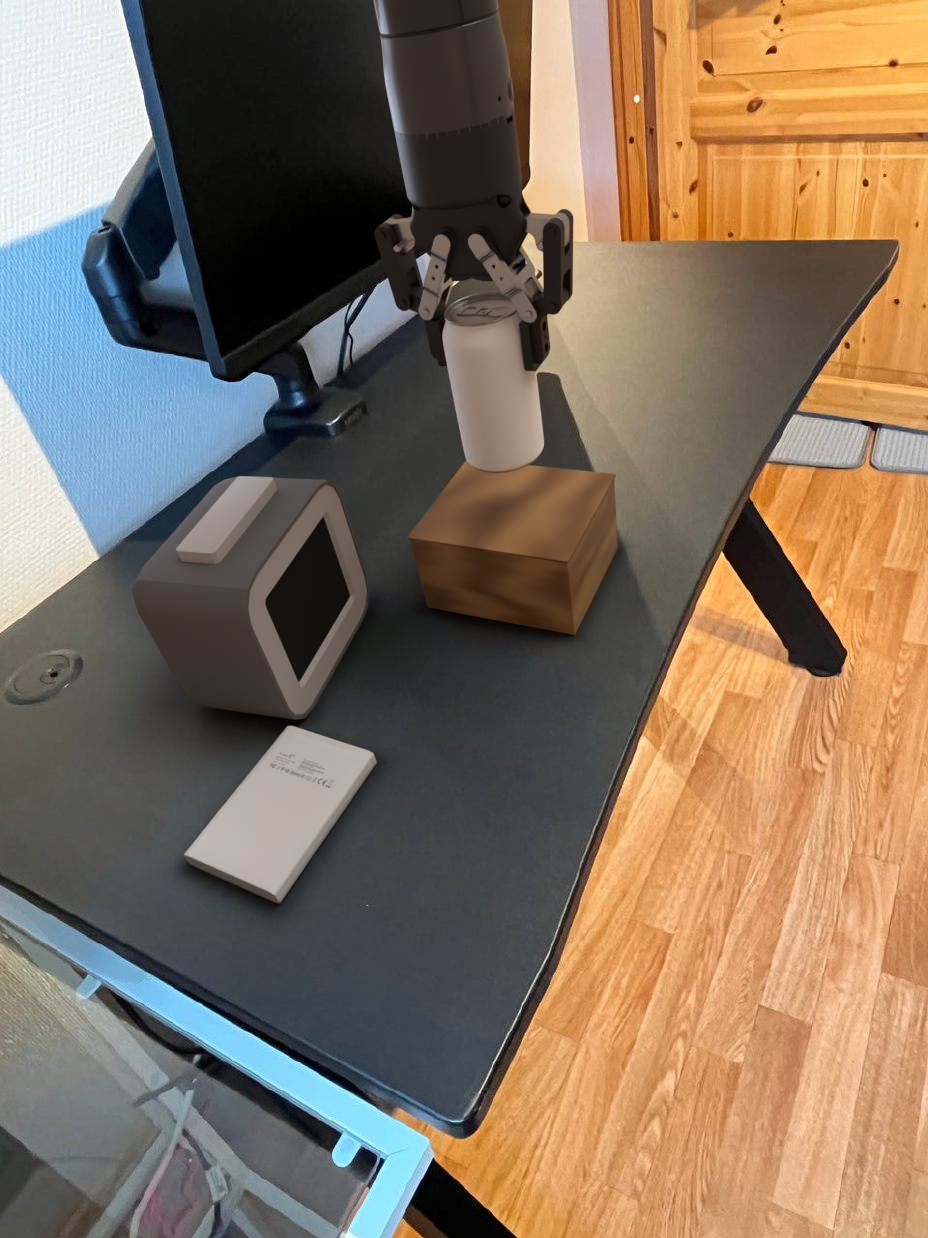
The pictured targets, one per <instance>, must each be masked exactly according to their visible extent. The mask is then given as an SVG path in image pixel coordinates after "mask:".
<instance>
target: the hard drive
mask: <svg viewBox="0 0 928 1238" xmlns="http://www.w3.org/2000/svg"><path fill="white" fill-rule="evenodd" d="M377 764H378V762H377V759H376V756H375V754H374V752H372V751H370V750H369V749H365V748H362V747H359V746H356V745H352V744H350V743H347V742H346V743H345V742H343V741H340V740H338V739H333V738H331V737H329V736H325V735H321V734H319V733H315V732H312V731H309V730H306V729H304V728H300V727H297V726H295V725H287V726H286V727H285V728H284V729H283V731H282V732H281V733H280V735H279V736H278V737H277V738H276V739H275V741H274V742H273V744H271V746H270V747H269V748H268V749H267V751H266V752H264V754H263V756H262V757H261V758H260V759H259V760H258V761H257V763H256V764H255V765H254V766H253V768H252V769H251V770H250V772H249V773H248V774H247V775H246V777H245V778H244V779H243V780H242V781H241V783H240V784H239V786H237V788H236V789H235V790H234V791H233V792H232V794H231V795H230V796H229V797H228V799H227V800H226V801H225V803H223V805H222V806H221V808H220V809H218V811H217V812H216V814H215V815H214V816H213V817H212V818H211V820H210V821H209V823H207V825H206V826H205V828H203V830H202V831H201V832H200V834H199V835H198V836H197V837H196V839H195V840H194V841H193V842H192V843H191V845H190V846H189V848H188V849H187V850H186V851H185V852H184V854H183V857H184V858H185V860H186V861H187V862H188V863H189V865H191V866H193V867H195V868H196V869H198V870H201V871H202V872H205V873H207V874H210V875H212V876H214V877H216V878H218V879H221V880H223V881H225V882H228V883H230V884H232V885H234V886H237V887H238V888H241V889H244V890H245V891H248V892H250V893H252V894H255V895H257V896H259V897H261V898H264V899H265V900H267V901H271V903H272V902H273V903H275V904H281V903H282V902H283V900H284V898H285V897H286V896H287V894H288V893H289V892H290V890H291V888H292V887H293V885H295V883H296V881H297V880H298V878H299V877H300V876H301V875H302V873H303V871H304V870H305V868H306V866H307V865H308V864H309V862H310V861H311V860H312V859H313V856H314V855H315V854H316V852H317V851H318V850H319V848H320V847H321V845H322V843H323V842H324V841H325V839H326V838H327V836H328V835H329V834H330V832H331V831H332V829H333V827H334V826H335V824H337V822H338V820H339V819H340V818H341V816H342V815H343V813H344V811H345V810H346V809H347V807H348V805H349V804H350V803H351V802H352V800H353V799H354V797H355V795H356V794H357V792H358V791H359V789H360V788H361V787H362V786H363V783H364V782H365V781H366V780H367V778H368V777H369V775H370V774H371V772H372V771H373V769H374V768H375V766H376V765H377Z"/></svg>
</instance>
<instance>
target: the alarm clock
mask: <svg viewBox="0 0 928 1238" xmlns="http://www.w3.org/2000/svg"><path fill="white" fill-rule="evenodd" d="M349 515H350V514H349V513H348V509H347V506H346V502H345V500H344V496H343V494H342V492H341V490H340V488H339V486H338V484H337V483H336V482H334V481H331V480H328V479H317V478H291V477H290V478H287V477H284V478H283V477H272V476H252V475H251V476H245V475H239V476H233V477H229V478H225V479H223V480H221V481H220V482H218V483H216V484H214V485H213V487H212V488H211V489H210V490H209V491H208V492H207V493H206V494H205V495H204V497H203V498H202V499H201V500H200V501H199V502H198V504H197V505H196V506H194V508H193V509H192V511H190V512H189V513H188V515H187V516H186V517H185V518H184V520H183V521H182V522H181V523H180V524H179V525H178V526H177V527H176V528H175V530H173V532H172V533H171V534H170V535H169V536H168V537H167V538H166V540H165V541H164V542H163V543H162V545H160V547H159V548H158V549H157V550H156V551H155V552H154V553H153V555H151V557H150V558H149V559H148V560H147V561H146V563H145V564H144V565H143V566H142V568H141V569H140V572H139V573H138V575H137V577H136V579H135V581H134V583H133V584H132V585H133V586H132V588H131V592H132V595H133V597H132V598H133V600H134V604H135V607H136V610H137V614H138V615H139V617H140V619H141V621H142V623H143V624H144V626H145V628H146V630H147V631H148V633H149V635H150V636H151V638H152V640H153V641H154V643H155V646H156V647H157V648H158V650H159V652H160V654H161V656H162V657H163V660H164V661H165V662H166V664H167V666H168V668H169V669H170V672H171V673H172V676H173V677H174V679H175V680H176V682H177V683H178V686H179V687H180V689H181V691H182V692H183V694H184V695H185V696H187V697H188V698H189V699H190V700H191V702H193V703H195V704H198V705H201V706H203V707H205V708H210V709H211V708H213V709H218V710H225V711H226V710H227V711H231V712H232V711H233V712H239V713H245V714H254V715H260V716H268V717H274V718H281V719H287V720H293V721H294V720H296V721H297V720H302V719H306V718H307V717H308V716H309V714H311V712H312V711H313V710H314V709H315V706H316V705H317V704H318V702H319V700H320V698H321V697H322V695H323V693H324V692H325V689H326V687H327V685H328V684H329V682H330V680H331V679H332V677H333V675H334V673H335V672H336V670H337V668H338V666H339V664H340V662H341V661H342V659H343V657H344V655H345V654H346V652H347V650H348V648H349V646H350V644H351V643H352V641H353V640H354V637H355V636H356V634H357V632H358V630H359V629H360V627H361V626H362V623H363V622H364V619H365V617H366V614H367V611H368V608H369V602H370V601H369V600H370V591H371V590H370V583H369V577H368V572H367V570H366V569H367V568H366V567H365V563H364V560H363V558H362V557H363V556H362V554H361V550H360V547H359V544H358V540H357V538H356V535H355V532H354V529H353V524H352V521H351V519H350V516H349Z"/></svg>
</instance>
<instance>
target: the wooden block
mask: <svg viewBox="0 0 928 1238" xmlns="http://www.w3.org/2000/svg"><path fill="white" fill-rule="evenodd" d="M616 475H617V474H616V473H610V472H609V473H608V472H599V471H590V470H581V469H572V468H571V469H570V468H562V467H561V468H560V467H553V466H552V467H551V466H542V465H541V466H540V465H531V464H529V465H528V466H526V467H523V468H521V469H518V470H515V471H511V472H505V473H489V472H484V471H481V470H478V469H476V468H475V467H474V466H472V465H471V464H469V463H468V461H467V460H466V459H465V461H464V462H463V464H462V465H461V466H460V467H459V469H458V470H457V472H456V473H455V474H454V475H453V476H452V478H451V480H449V482H448V483H447V485H446V486H445V487H444V489H443V490H442V491H441V492H440V494H439V495H438V497H437V498H436V499H435V500H434V502H433V503H432V504H431V506H430V507H429V509H428V510H427V511H426V512H425V513H424V515H423V516H422V517H421V519H420V520H419V521H418V522H417V524H416V525H415V526H414V528H413V529H412V530H411V532H410V533H409V534H408V536H407V537H406V539H407V540H409V541H410V545H411V550H412V553H413V558H414V561H415V564H416V568H417V572H418V576H419V579H420V584H421V587H422V593H423V595H424V600H425V603H426V607H427V608H429V609H433V610H438V611H439V610H440V611H445V612H449V613H456V614H461V615H464V616H465V615H466V616H472V617H476V618H482V619H486V620H487V619H488V620H493V621H498V622H503V623H508V624H513V625H519V626H524V627H525V626H526V627H530V628H534V629H540V630H546V631H550V632H556V633H561V634H567V635H572V636H575V635H576V634H577V632H578V630H579V628H580V626H581V624H582V622H583V620H584V618H585V616H586V614H587V612H588V610H589V607H590V605H591V604H592V602H593V599H594V597H595V595H596V593H597V591H598V589H599V587H600V585H601V583H602V581H603V579H604V577H605V575H606V573H607V571H608V569H609V567H610V566H611V563H612V561H613V559H614V557H615V555H616V553H617V552H618V549H619V543H618V542H619V541H618V540H619V539H618V522H617V505H616V504H617V503H616V487H615V479H616V477H617V476H616Z"/></svg>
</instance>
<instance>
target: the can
mask: <svg viewBox="0 0 928 1238" xmlns="http://www.w3.org/2000/svg"><path fill="white" fill-rule="evenodd" d="M444 318H445V320H446V321H445V325H444V329H443V333H442V339H443V346H444V351H445V357H446V362H447V366H446V367H447V374H448V377H449V383H450V388H451V393H452V398H453V403H454V410H455V413H456V420H457V424H458V428H459V434H460V439H461V444H462V449H463V453H464V457H465V461H466V460H467V461H468V463H469V464H471V465H472V466H474V467H475V468H476V469H478V470H481V471H484V472H489V473H505V472H511V471H515V470H518V469H521V468H523V467H526V466H528V465H531V464H533V463H534V462H535V461H536V460H537V459H538V457H539V456H540V455H541V453H542V452H543V451H544V450H543V449H544V447H545V437H544V428H543V427H544V426H543V418H542V411H541V403H540V401H541V400H540V393H539V385H538V376H537V371H526V370H525V367H524V359H523V351H522V343H521V335H520V328H519V323H520V322H521V321H522V320H523V319H522V318H521V316H520V315H519V313H518V312H517V310H516V308H515V307H514V305H513V304H512V302H511V300H510V299H509V298H508V297H505V296H503V295H502V294H501V292H500V291H499V290H494V291H492V290H491V291H483V292H482V291H481V292H478V293H477V292H476V293H472V294H470V295H467V296H464V297H462V298H459V299H457V300H455V301H453V302H452V303H450V304H449V305H448V306H446V309H445V311H444Z"/></svg>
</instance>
